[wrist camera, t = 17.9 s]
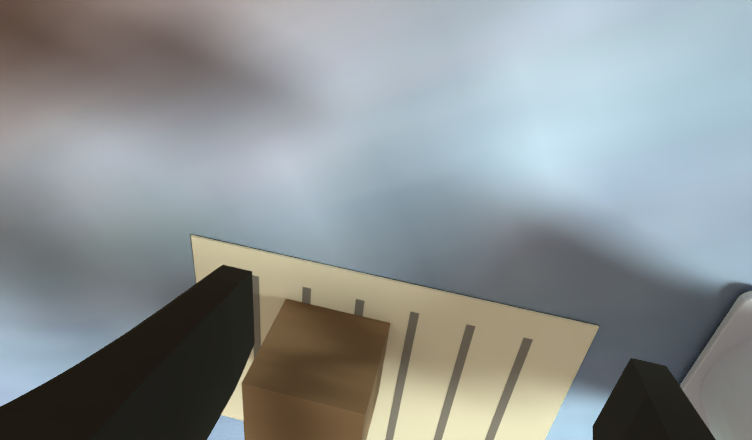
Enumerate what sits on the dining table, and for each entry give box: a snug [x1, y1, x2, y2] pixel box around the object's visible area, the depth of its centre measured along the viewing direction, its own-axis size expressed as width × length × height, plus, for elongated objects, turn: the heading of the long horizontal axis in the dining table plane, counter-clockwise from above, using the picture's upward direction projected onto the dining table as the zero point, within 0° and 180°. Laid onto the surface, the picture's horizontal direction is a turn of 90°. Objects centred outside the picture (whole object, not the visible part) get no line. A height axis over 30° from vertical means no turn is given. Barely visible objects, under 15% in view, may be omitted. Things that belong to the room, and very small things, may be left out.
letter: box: [191, 235, 599, 440], centre depth 27 cm, size 18×13×1 cm
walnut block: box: [242, 299, 390, 440], centre depth 24 cm, size 5×5×5 cm
